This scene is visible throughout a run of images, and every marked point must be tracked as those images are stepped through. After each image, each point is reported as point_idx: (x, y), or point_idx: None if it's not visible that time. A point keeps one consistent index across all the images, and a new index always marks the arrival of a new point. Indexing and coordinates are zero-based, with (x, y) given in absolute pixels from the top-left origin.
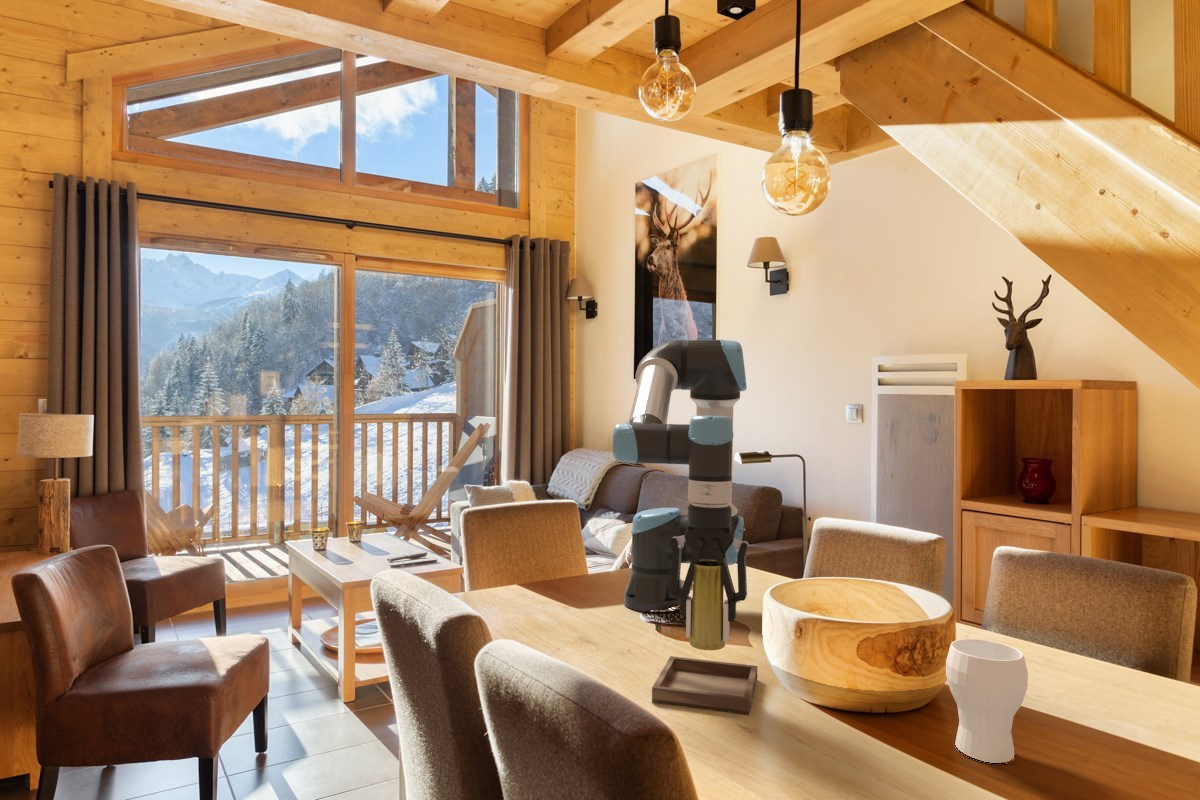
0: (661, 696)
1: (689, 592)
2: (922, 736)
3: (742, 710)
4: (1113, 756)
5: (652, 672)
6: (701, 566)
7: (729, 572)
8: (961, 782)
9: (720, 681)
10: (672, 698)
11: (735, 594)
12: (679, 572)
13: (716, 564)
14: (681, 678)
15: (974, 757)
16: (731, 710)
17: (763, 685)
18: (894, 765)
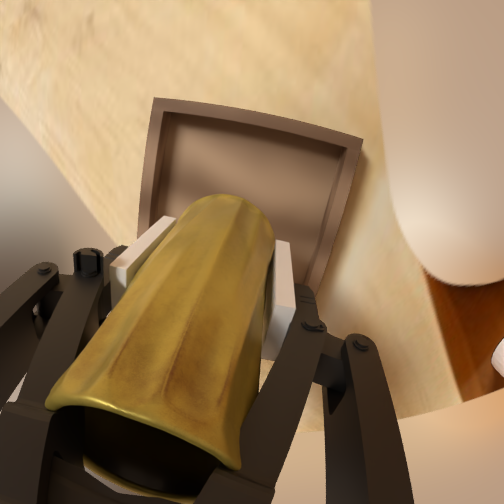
0: None
1: (102, 279)
2: (489, 328)
3: None
4: None
5: (131, 124)
6: (118, 481)
7: (295, 428)
8: (455, 398)
9: (270, 174)
10: None
11: (313, 380)
12: (15, 340)
13: (191, 416)
14: (186, 166)
15: (493, 366)
16: None
17: (362, 168)
18: (424, 388)
